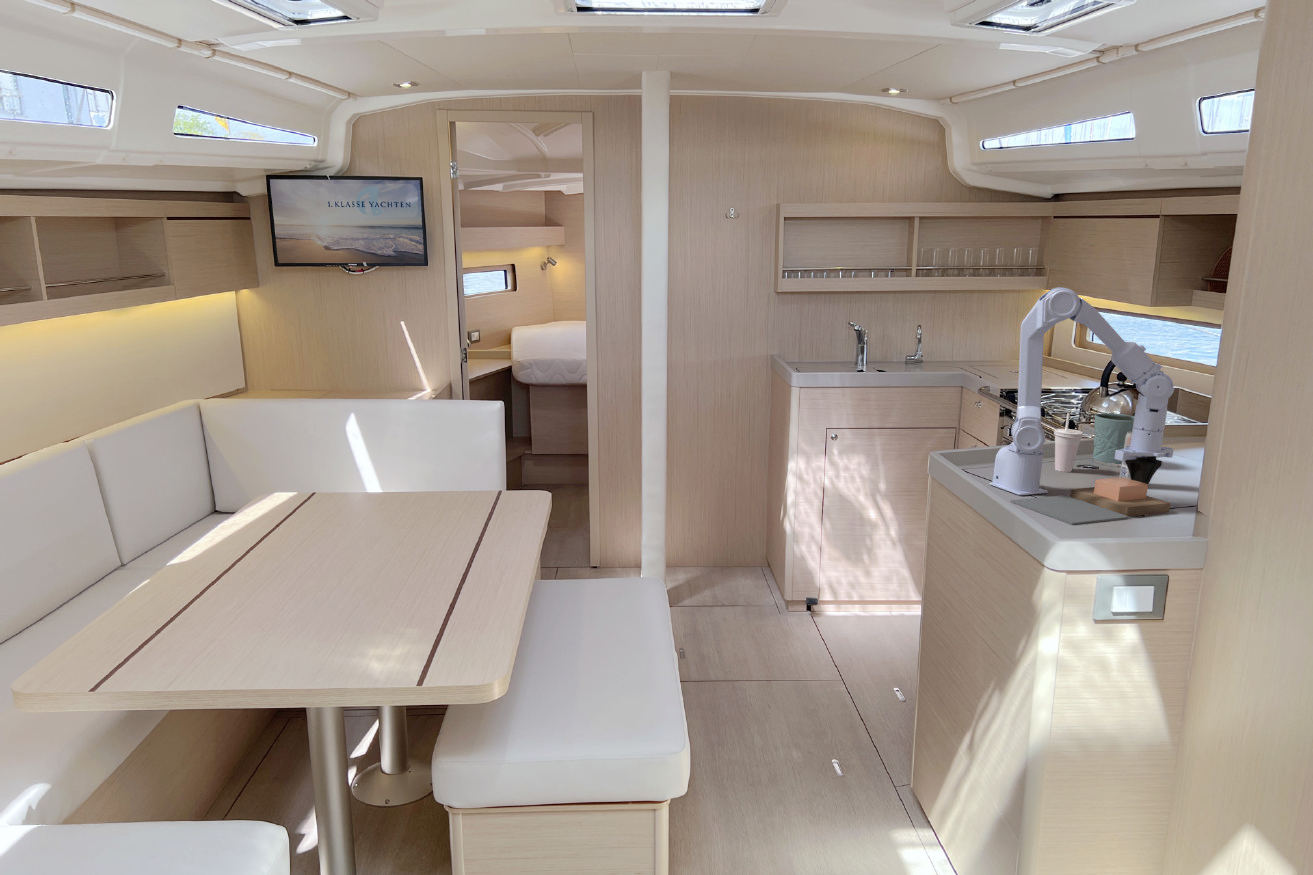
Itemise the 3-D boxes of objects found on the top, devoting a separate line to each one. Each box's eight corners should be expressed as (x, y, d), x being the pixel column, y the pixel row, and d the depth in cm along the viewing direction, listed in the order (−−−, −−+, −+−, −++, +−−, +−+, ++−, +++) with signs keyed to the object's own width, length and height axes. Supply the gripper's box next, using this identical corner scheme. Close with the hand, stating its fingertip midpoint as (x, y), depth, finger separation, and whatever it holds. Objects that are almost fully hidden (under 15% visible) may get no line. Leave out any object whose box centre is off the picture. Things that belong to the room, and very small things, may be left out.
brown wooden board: (1070, 498, 189) (1071, 489, 189) (1111, 494, 194) (1112, 485, 193) (1126, 517, 176) (1127, 507, 176) (1169, 512, 181) (1170, 502, 180)
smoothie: (1046, 466, 218) (1053, 410, 215) (1074, 468, 217) (1082, 412, 214) (1052, 472, 212) (1060, 414, 209) (1080, 474, 210) (1089, 416, 208)
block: (1093, 493, 186) (1095, 479, 185) (1121, 490, 189) (1123, 477, 188) (1117, 501, 180) (1120, 486, 180) (1146, 498, 183) (1148, 484, 183)
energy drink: (1142, 483, 204) (1150, 432, 202) (1146, 489, 199) (1155, 437, 197) (1116, 480, 206) (1124, 430, 203) (1120, 486, 201) (1128, 434, 198)
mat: (1010, 502, 184) (1011, 500, 184) (1065, 496, 190) (1065, 495, 190) (1072, 524, 170) (1072, 522, 170) (1129, 518, 175) (1129, 516, 175)
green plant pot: (1142, 466, 222) (1149, 419, 219) (1115, 469, 217) (1122, 421, 215) (1106, 457, 231) (1113, 411, 228) (1079, 460, 226) (1086, 413, 224)
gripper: (1139, 434, 177) (1129, 499, 180) (1190, 431, 183) (1179, 494, 185) (1110, 427, 184) (1100, 490, 186) (1160, 424, 189) (1150, 485, 192)
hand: (1138, 491), depth 186 cm, fingers closed
